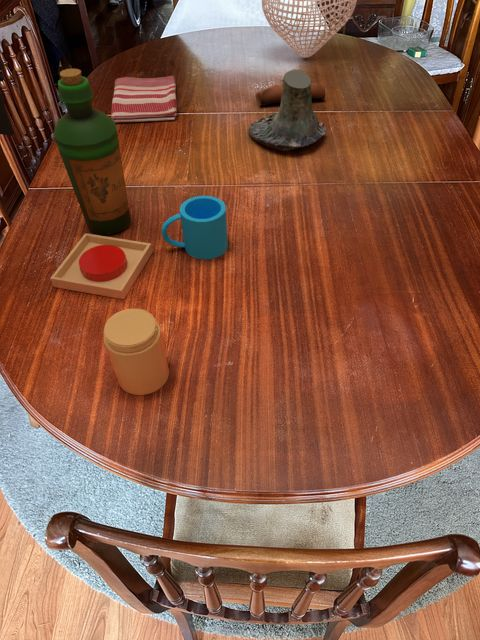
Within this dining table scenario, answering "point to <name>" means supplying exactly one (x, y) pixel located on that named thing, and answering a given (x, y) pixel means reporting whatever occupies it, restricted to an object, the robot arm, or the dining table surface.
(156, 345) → the jar
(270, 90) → the sunglasses case
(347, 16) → the heart
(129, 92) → the dish towel
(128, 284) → the tray
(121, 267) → the lid
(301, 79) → the tree stump
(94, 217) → the bottle
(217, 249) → the mug
